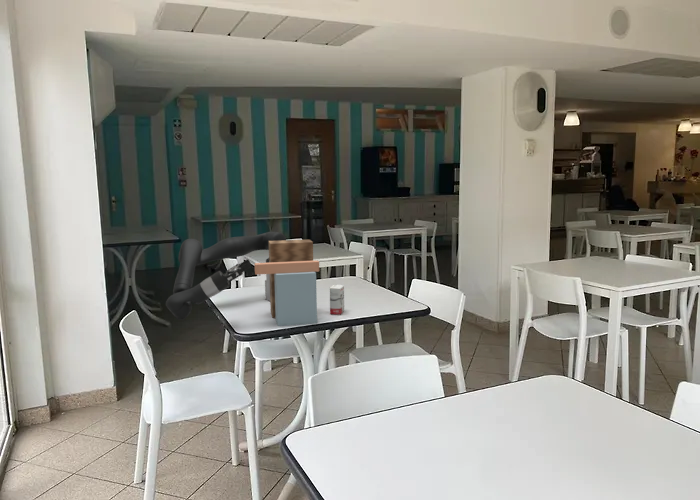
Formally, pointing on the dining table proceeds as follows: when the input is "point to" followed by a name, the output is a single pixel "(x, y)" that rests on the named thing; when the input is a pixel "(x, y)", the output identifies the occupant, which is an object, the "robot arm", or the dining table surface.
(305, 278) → the grey foam block
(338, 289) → the ink box
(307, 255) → the plinth
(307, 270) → the bar
